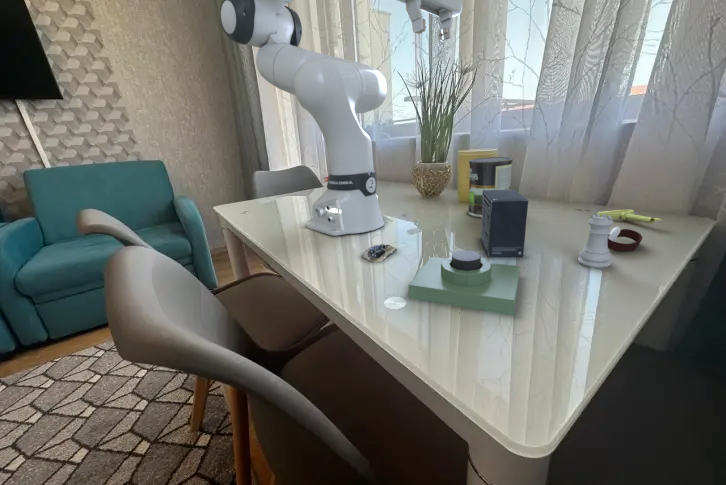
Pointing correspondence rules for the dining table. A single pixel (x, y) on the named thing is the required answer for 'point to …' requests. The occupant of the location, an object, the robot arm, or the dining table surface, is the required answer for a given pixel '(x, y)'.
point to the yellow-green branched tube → (628, 216)
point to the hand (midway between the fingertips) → (433, 36)
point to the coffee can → (487, 179)
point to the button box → (467, 285)
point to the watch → (623, 233)
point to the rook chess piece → (597, 243)
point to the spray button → (466, 260)
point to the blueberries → (378, 252)
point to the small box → (503, 223)
